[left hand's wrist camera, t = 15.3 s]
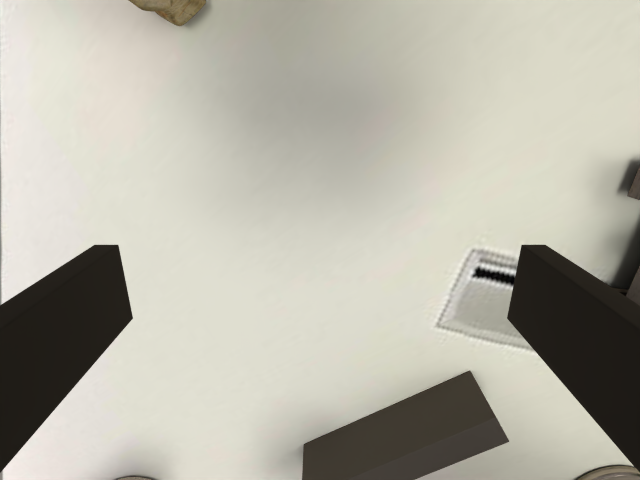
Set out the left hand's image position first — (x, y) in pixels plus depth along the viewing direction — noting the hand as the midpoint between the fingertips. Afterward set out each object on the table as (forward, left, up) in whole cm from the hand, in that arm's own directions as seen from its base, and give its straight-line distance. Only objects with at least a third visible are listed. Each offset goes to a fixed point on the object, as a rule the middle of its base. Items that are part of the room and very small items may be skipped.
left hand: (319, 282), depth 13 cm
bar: (+35, +20, -32) cm, 51 cm away
